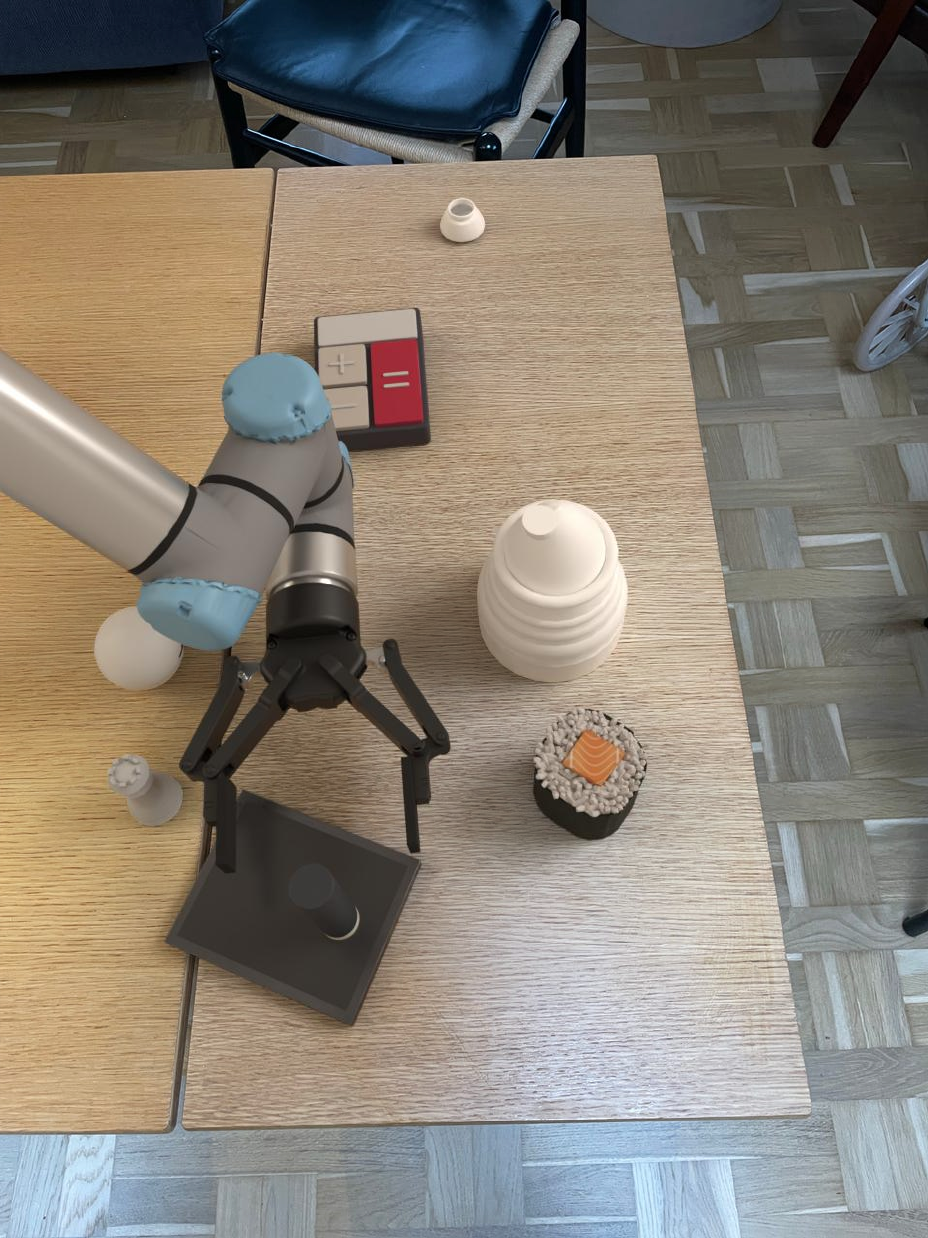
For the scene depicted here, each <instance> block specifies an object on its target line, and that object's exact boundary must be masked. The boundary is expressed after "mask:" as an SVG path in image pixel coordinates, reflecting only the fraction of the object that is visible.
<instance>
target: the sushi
mask: <svg viewBox="0 0 928 1238" xmlns="http://www.w3.org/2000/svg"><path fill="white" fill-rule="evenodd" d="M555 718H556V721H557V722H556V721H555V722H552V724H551V725H550V726H549V725H547V726H546V727H545V731H546V732H544V739H542V741H539V742H538V741H537V743H536V748H535V749H534V754H535V756H534V757H533V761H532V762H533V764H534V767H533V783H532V784H533V785H532V786H533V787H532V793H533V794H532V795H533V797H534V801H535V803H536V806H537V808H538V809H539V810H540V812H541V813H542V814H543V815H544V816H545V817H546V818H547V819H549V820H550V821H551V822H552V823H554V824H555V825H556V826H558V827H560V828H561V829H563V830H565V831H566V832H567V833H569V834H571V835H572V836H574V837H576V838H579V839H583V840H587V841H596V840H604V839H606V838H608V837H610V836H613V835H614V834H615V833H616V832H617V831H618V830H620V828H621V826H622V825H623V823H624V822H625V820H626V819H627V817H628V816H629V814H631V811H632V810H633V808H634V805H635V803H636V801H637V797H638V794H639V791H640V788H641V786H642V783H643V781H644V779H645V778H646V775H647V769H648V762H647V759H648V758H649V754H647V753H646V752H645V750H644V748H643V746H642V744H641V743H640V741H638V739H637V738H636V737H635V736H634V734H635V732H634V731H633V730H632V729H631V728H629V727H627V726H626V724H625V725H624V723H622V722H620V721H618V718H617V717H614V718H613V717H612V716H610V715H608V714H606V713H604V712H603V711H600V710H597V709H596V710H595V709H593V708H583V707H581V706H577V707H576V709H575V708H571V710H570V712H567V713H566V714H565V715H560V714H558V715H556V716H555Z"/></svg>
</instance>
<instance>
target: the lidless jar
mask: <svg viewBox="0 0 928 1238" xmlns="http://www.w3.org/2000/svg"><path fill="white" fill-rule="evenodd" d="M485 221H486V220H485V218H484V216H483V213H481V211H480V210H479V208H478V207H477V206H476V204H475V202H474V201H472V200H471V199H469V198H464V197H461V198H456V199H453V200H452V201H450V202H449V203H448V205H447V208H446V209H445V211H444V213H443V214H442V217H441V220H440V221H439V227H440V232H441V233H440V234H441V235H443V236H444V237H445V238H446V239H447V240H450V241H452V242H457V243H466V242H472V241H473V240H476V239H478V238H479V237H480V236H481V235H482V234H483V233H484V231H485V228H486V222H485Z"/></svg>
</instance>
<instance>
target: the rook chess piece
mask: <svg viewBox="0 0 928 1238" xmlns="http://www.w3.org/2000/svg"><path fill="white" fill-rule="evenodd" d="M106 780H107V785H108V787H109V788H110V789H111V790H112V792H113V793H115V794H118V795H120V796H123V797H126V801H125V803H126V806H127V809H128V813H130V814H131V816H132V817H133V818H134V819H135V820H136V821H137V822H138V823H140V824H142V825H145V826H147V827H152V826H160V825H163V824H165V823H167V822H170V821H171V819H173V818H174V817H175V816H176V815H177V814H178V812H179V811H180V808H181V806H182V804H183V797H184V795H183V794H184V793H183V789H182V786H181V784H180V782H179V781H178V780H176V779H175V777H173V776H171V774H170V773H166V772H164V771H161V770H160V771H159V770H155V771H152V769H151V768H150V766H149V763H148V761H147V760H146V759H145V758H144V757H143V756H141V755H138V754H135V753H133V754H122V756H121V757H119V758H118V757H116V758H115V759H113V760H112V761H111V766H110V768H109V767H108V768H107V778H106Z"/></svg>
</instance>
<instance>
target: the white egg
mask: <svg viewBox="0 0 928 1238" xmlns="http://www.w3.org/2000/svg"><path fill="white" fill-rule="evenodd" d="M124 591H125V592H126V595H128V593H127V591H126V590H124ZM129 601H131V600H130V598H129ZM93 655H94V658H95V662H96V665H97V667H98V669H99V672H101V673H102V675H103V676H104V677H105V679H106V680H108V681H109V682H111V683H112V684H114V685H116V686H118V687H120V688H121V689H122V690H127V691H132V692H140V691H150V690H153V689H155V688H157V687H158V688H159V687H160V686H162V685H164V684H165V683H166V682H168V681H169V680H170V679H172V677H174V675H175V673H176V672H177V670H178V669H179V667H180V665H181V662H182V660H183V657H184V645H183V644H180V643H178V642H175V641H173V640H171V639H169V638H167V637H165V636H164V635H162V634H160V633H159V632H157V631H156V630H154V629H153V628H152V626H151V624H149V623H147V622H145V621H144V620H143V619H142V618H141V616H140V615H139V613H138V610H137V605H136V606H128V607H124V608H122V609H120V610H117V611H115V612H114V613H112V614H111V615H109V616H108V617H107V618H106V619H105V621H103V622H102V624H101V625H100V627H99V629H98V631H97V633H96V636H95V639H94V646H93Z"/></svg>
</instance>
